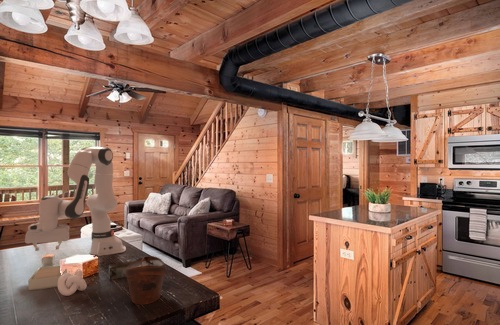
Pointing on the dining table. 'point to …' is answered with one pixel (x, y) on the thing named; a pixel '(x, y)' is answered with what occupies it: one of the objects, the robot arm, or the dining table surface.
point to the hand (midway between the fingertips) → (47, 250)
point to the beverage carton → (118, 270)
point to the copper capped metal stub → (48, 260)
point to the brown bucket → (145, 279)
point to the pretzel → (71, 283)
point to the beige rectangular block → (48, 273)
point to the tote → (44, 280)
